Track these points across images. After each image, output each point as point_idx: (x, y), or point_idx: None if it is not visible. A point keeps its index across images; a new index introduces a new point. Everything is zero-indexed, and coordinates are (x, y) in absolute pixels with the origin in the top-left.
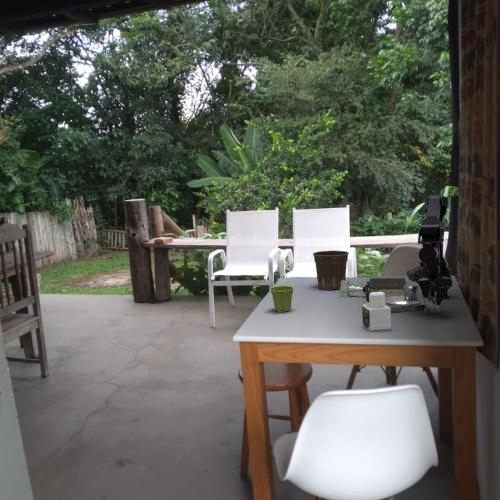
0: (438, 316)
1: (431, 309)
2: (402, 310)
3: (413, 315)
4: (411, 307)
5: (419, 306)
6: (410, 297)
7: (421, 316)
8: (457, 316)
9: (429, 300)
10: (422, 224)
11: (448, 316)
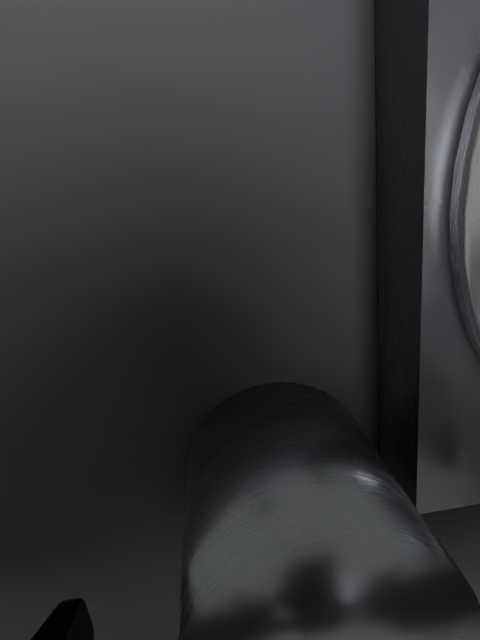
0: (39, 472)
1: (192, 473)
2: (385, 57)
3: (128, 174)
4: (405, 233)
5: (405, 368)
6: None
7: (56, 273)
8: (24, 635)
9: (204, 582)
10: None
11: (31, 564)
